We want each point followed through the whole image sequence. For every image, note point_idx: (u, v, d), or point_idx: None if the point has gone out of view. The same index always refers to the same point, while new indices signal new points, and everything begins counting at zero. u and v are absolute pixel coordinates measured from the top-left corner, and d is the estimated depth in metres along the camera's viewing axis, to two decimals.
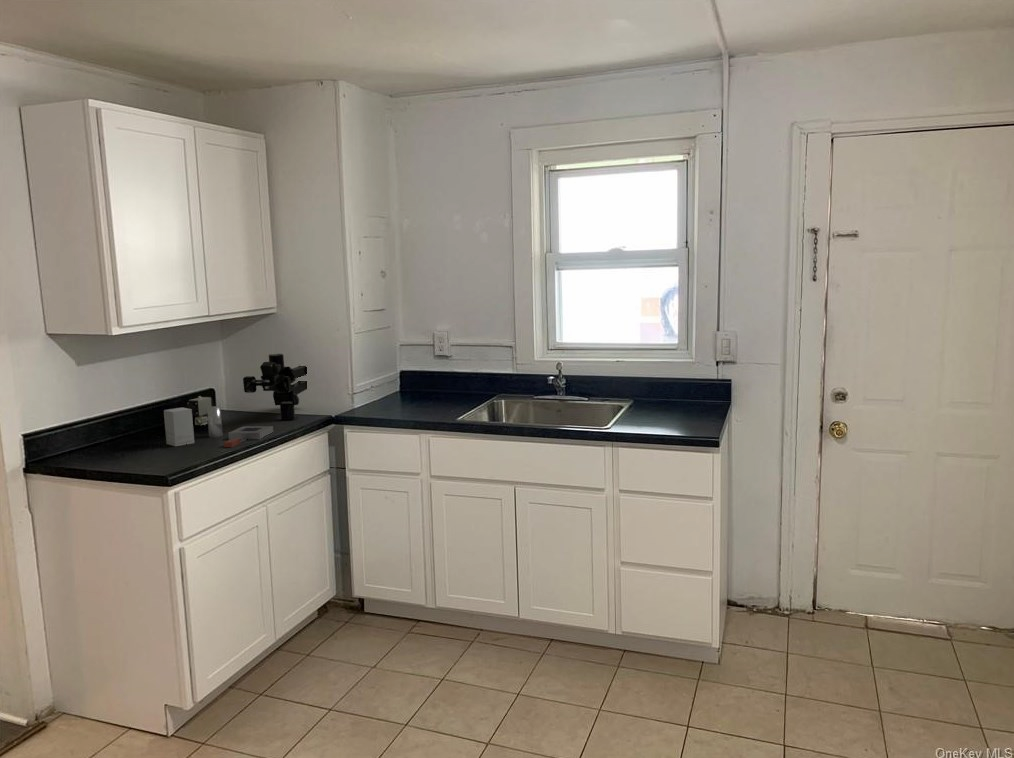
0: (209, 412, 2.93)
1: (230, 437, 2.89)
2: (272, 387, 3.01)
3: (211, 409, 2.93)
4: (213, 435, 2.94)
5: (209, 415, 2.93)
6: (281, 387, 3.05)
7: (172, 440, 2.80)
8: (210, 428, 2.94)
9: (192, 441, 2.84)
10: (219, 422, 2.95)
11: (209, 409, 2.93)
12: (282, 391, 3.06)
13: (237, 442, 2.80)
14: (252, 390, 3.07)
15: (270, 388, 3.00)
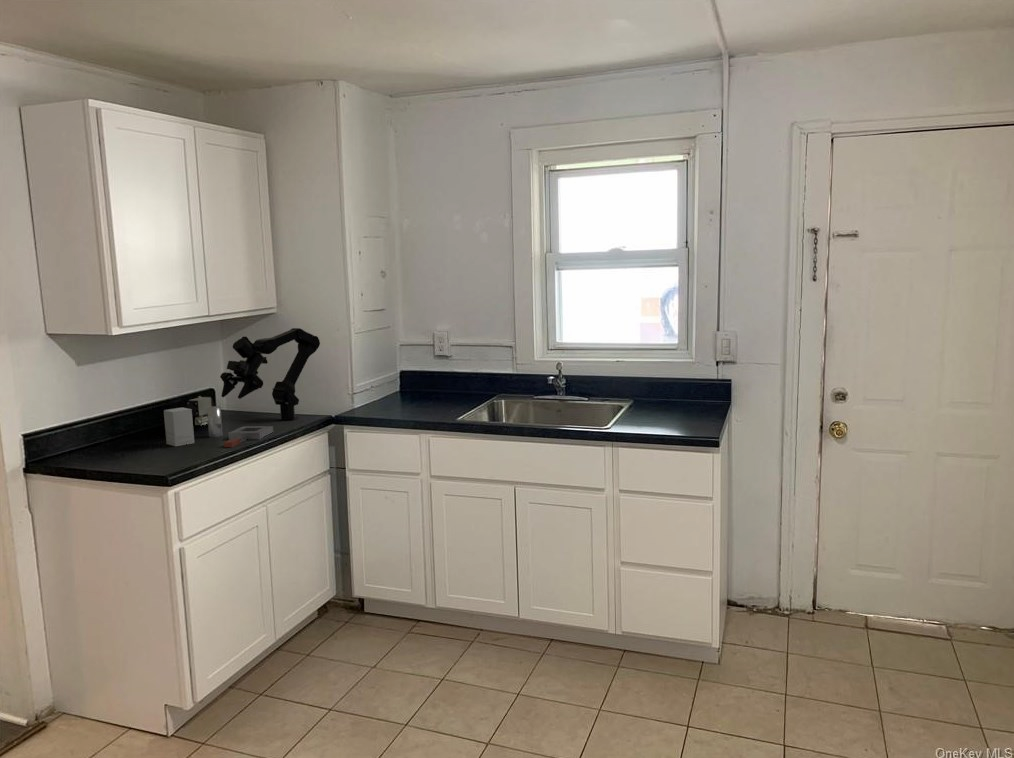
0: (209, 412, 2.93)
1: (230, 437, 2.89)
2: (241, 394, 2.99)
3: (211, 409, 2.93)
4: (213, 435, 2.94)
5: (209, 415, 2.93)
6: (252, 386, 3.02)
7: (172, 440, 2.80)
8: (210, 428, 2.94)
9: (192, 441, 2.84)
10: (219, 422, 2.95)
11: (209, 409, 2.93)
12: (255, 389, 3.03)
13: (237, 442, 2.80)
14: (232, 388, 3.08)
15: (240, 397, 2.99)
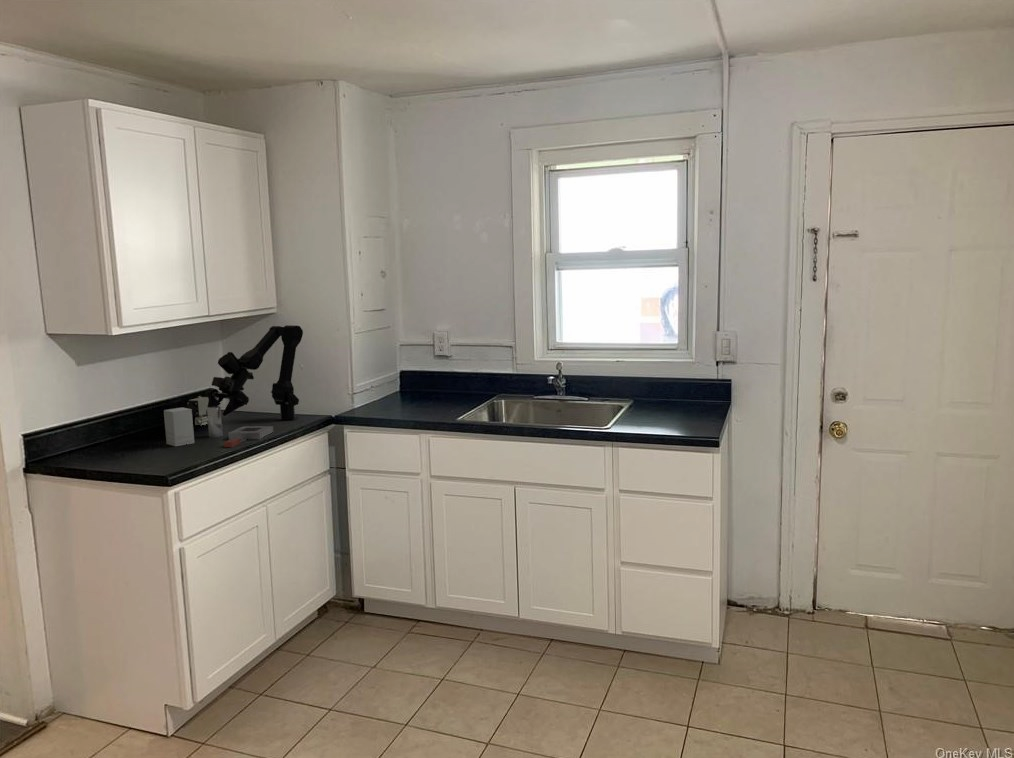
0: (209, 412, 2.93)
1: (230, 437, 2.89)
2: (226, 411, 2.94)
3: (211, 409, 2.93)
4: (213, 435, 2.94)
5: (209, 415, 2.93)
6: (237, 403, 2.96)
7: (172, 440, 2.80)
8: (210, 428, 2.94)
9: (192, 441, 2.84)
10: (219, 422, 2.95)
11: (209, 409, 2.93)
12: (240, 405, 2.97)
13: (237, 442, 2.80)
14: (217, 404, 3.02)
15: (225, 414, 2.94)
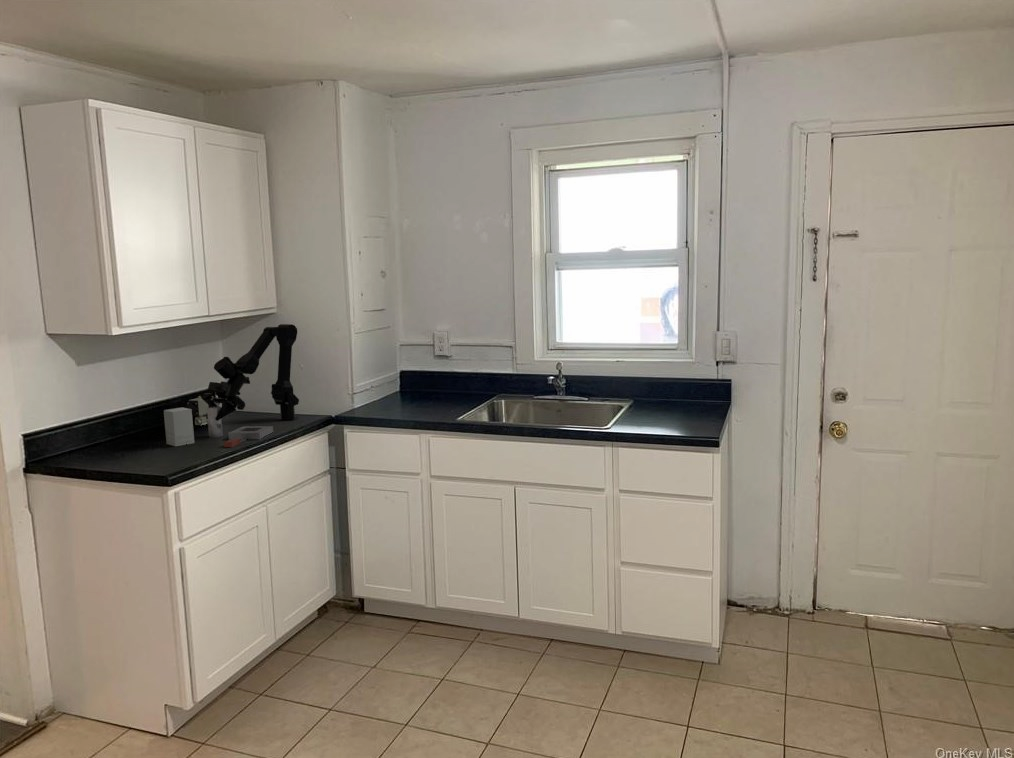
0: (209, 412, 2.93)
1: (230, 437, 2.89)
2: (219, 416, 2.93)
3: (211, 409, 2.93)
4: (213, 435, 2.94)
5: (209, 415, 2.93)
6: (230, 407, 2.96)
7: (172, 440, 2.80)
8: (210, 428, 2.94)
9: (192, 441, 2.84)
10: (219, 422, 2.95)
11: (209, 409, 2.93)
12: (233, 410, 2.97)
13: (237, 442, 2.80)
14: None
15: (217, 418, 2.93)
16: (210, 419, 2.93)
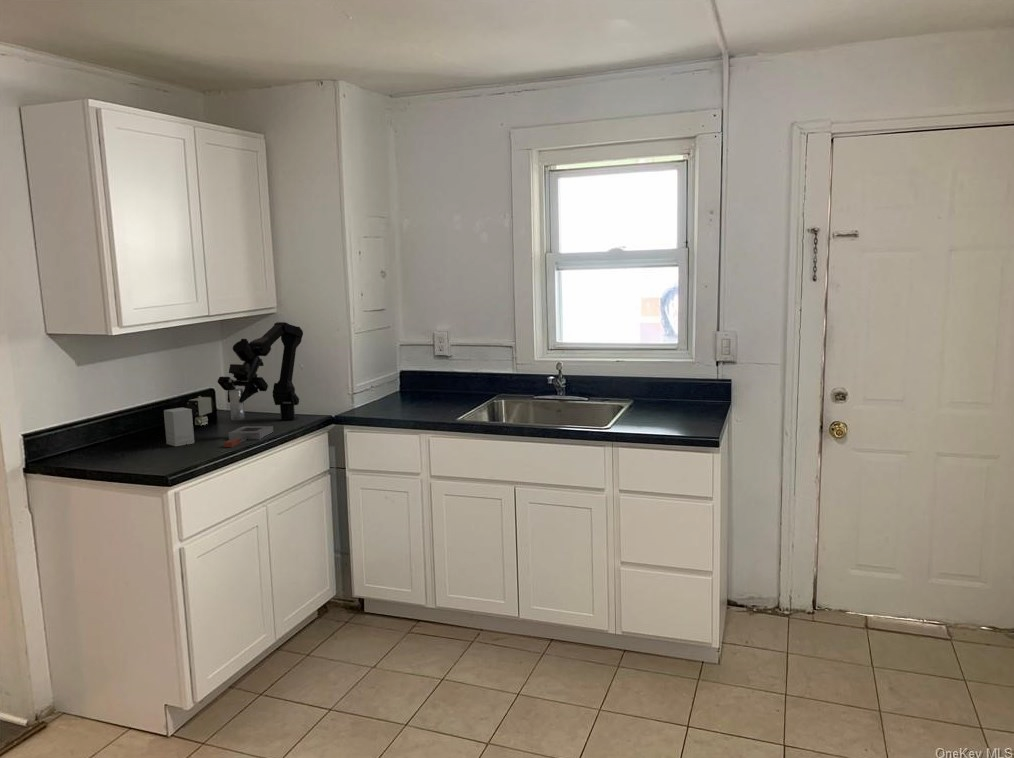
0: (232, 394, 2.90)
1: (230, 437, 2.89)
2: (243, 398, 2.92)
3: (235, 391, 2.90)
4: (237, 418, 2.92)
5: (233, 397, 2.90)
6: (252, 389, 2.95)
7: (172, 440, 2.80)
8: (233, 411, 2.91)
9: (192, 441, 2.84)
10: (242, 404, 2.93)
11: (233, 391, 2.90)
12: (255, 392, 2.96)
13: (237, 442, 2.80)
14: None
15: (242, 401, 2.91)
16: (234, 402, 2.91)
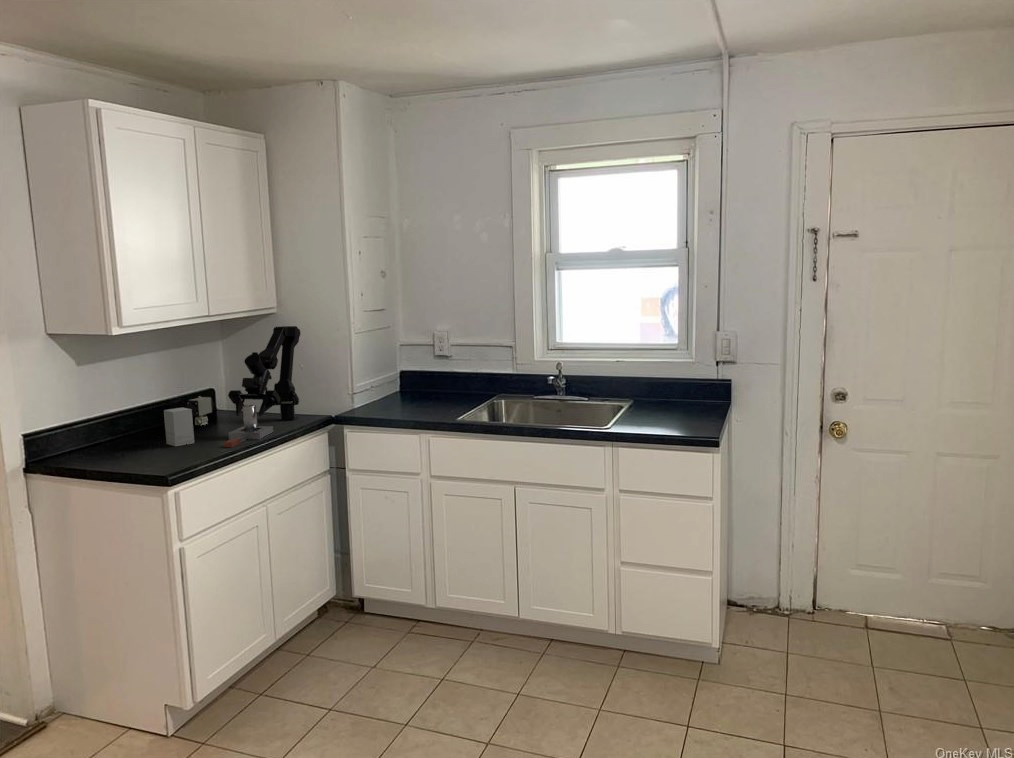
0: (247, 410, 2.91)
1: (230, 437, 2.89)
2: (261, 412, 2.92)
3: (249, 407, 2.91)
4: None
5: (247, 413, 2.91)
6: (270, 402, 2.96)
7: (172, 440, 2.80)
8: (248, 427, 2.92)
9: (192, 441, 2.84)
10: (256, 420, 2.94)
11: (247, 407, 2.91)
12: (272, 405, 2.97)
13: (237, 442, 2.80)
14: None
15: (260, 414, 2.92)
16: (248, 417, 2.92)
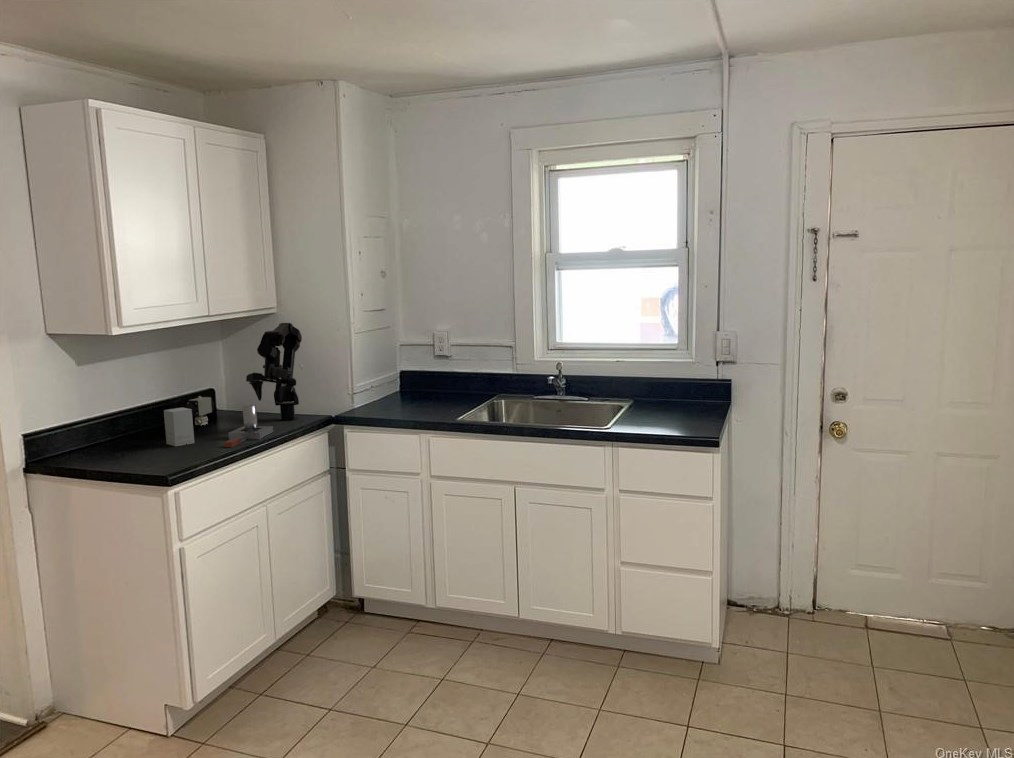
0: (247, 410, 2.91)
1: (230, 437, 2.89)
2: None
3: (249, 407, 2.91)
4: None
5: (247, 413, 2.91)
6: None
7: (172, 440, 2.80)
8: (248, 426, 2.92)
9: (192, 441, 2.84)
10: (256, 420, 2.94)
11: (247, 407, 2.91)
12: None
13: (237, 442, 2.80)
14: None
15: None
16: (248, 417, 2.92)
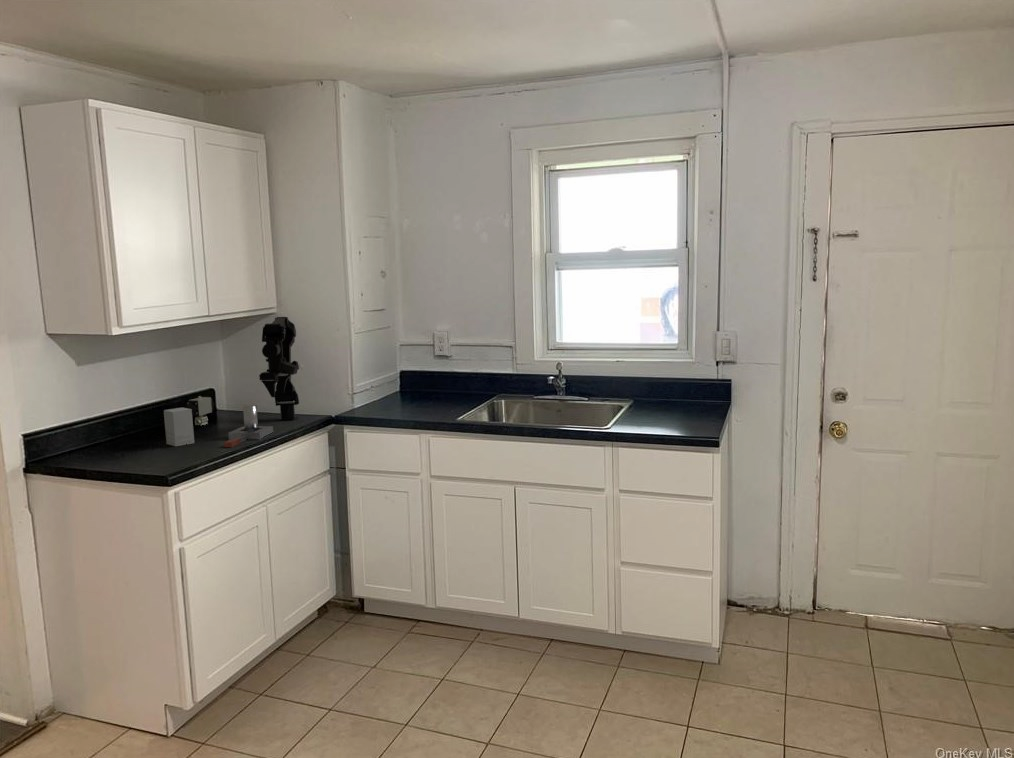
0: (248, 410, 2.91)
1: (230, 437, 2.89)
2: None
3: (250, 407, 2.91)
4: None
5: (248, 413, 2.91)
6: None
7: (172, 440, 2.80)
8: (248, 427, 2.92)
9: (192, 441, 2.84)
10: (256, 420, 2.94)
11: (248, 407, 2.91)
12: None
13: (237, 442, 2.80)
14: None
15: None
16: (249, 417, 2.92)
